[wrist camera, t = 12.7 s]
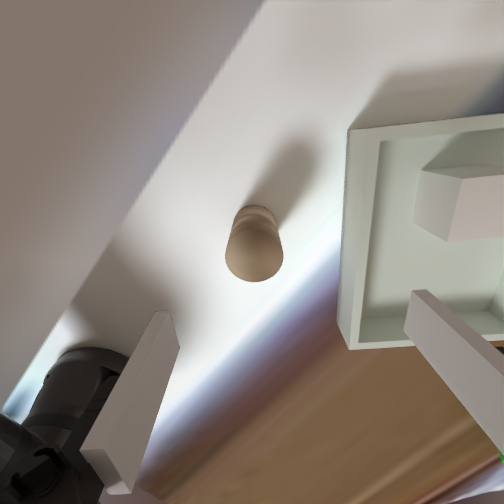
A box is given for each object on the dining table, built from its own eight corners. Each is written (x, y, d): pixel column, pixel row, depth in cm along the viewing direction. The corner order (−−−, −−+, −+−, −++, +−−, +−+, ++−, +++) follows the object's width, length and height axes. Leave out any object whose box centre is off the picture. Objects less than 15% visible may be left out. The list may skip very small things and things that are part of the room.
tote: (336, 321, 34) (349, 349, 30) (347, 130, 24) (368, 128, 19) (487, 311, 33) (523, 338, 29) (565, 105, 23) (641, 98, 18)
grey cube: (411, 222, 27) (446, 242, 22) (420, 170, 25) (462, 178, 20) (463, 217, 27) (511, 236, 22) (478, 164, 24) (535, 171, 19)
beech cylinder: (235, 248, 30) (229, 284, 22) (230, 207, 27) (221, 232, 20) (277, 244, 29) (284, 279, 22) (274, 203, 27) (281, 227, 20)
